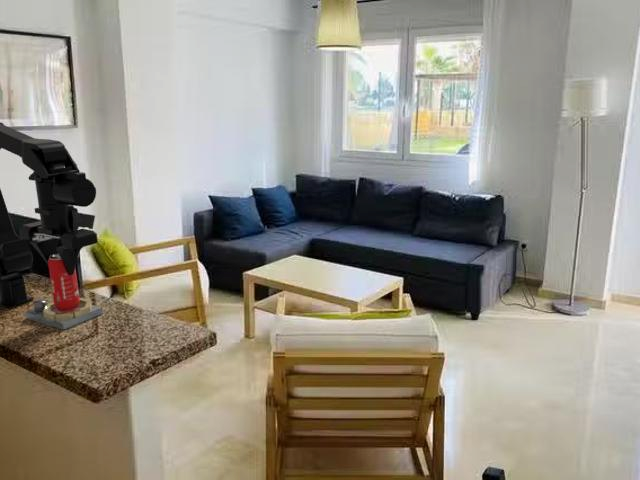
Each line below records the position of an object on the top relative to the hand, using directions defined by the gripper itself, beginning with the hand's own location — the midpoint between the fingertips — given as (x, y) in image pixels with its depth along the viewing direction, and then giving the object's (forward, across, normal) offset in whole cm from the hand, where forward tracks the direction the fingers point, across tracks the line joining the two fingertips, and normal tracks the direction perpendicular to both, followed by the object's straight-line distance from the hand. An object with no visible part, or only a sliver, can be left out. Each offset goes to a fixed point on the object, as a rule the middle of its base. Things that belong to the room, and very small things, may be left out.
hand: (62, 272), depth 124 cm
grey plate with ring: (+10, +1, 0) cm, 10 cm away
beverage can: (+8, 0, 0) cm, 8 cm away
